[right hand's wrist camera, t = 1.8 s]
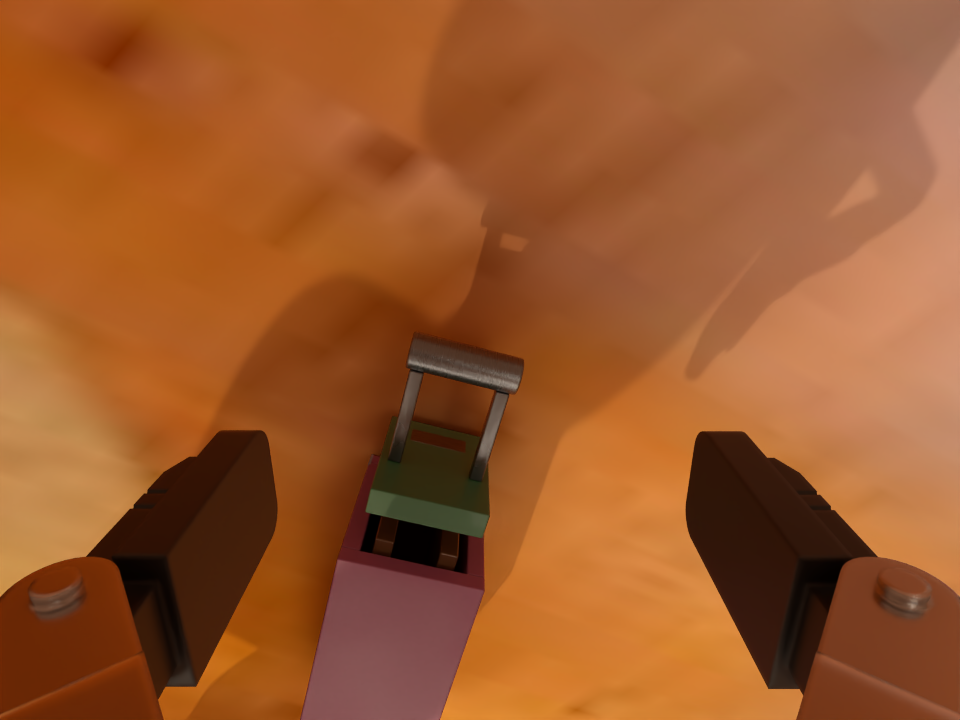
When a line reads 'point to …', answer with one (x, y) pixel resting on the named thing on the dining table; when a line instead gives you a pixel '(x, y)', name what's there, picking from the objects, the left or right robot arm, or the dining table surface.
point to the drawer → (438, 458)
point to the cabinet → (391, 628)
